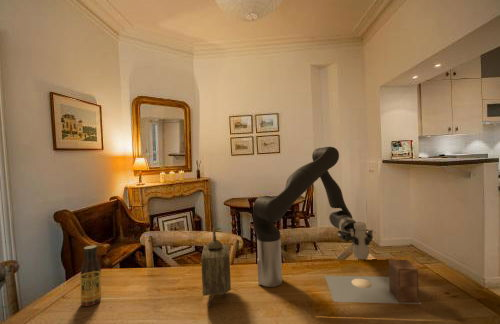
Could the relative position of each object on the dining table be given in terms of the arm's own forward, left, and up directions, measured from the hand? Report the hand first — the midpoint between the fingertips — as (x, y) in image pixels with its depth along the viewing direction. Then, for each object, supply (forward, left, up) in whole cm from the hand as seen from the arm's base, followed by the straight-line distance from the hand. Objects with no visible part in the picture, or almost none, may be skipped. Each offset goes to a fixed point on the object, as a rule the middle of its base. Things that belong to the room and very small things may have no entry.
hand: (362, 242), depth 92 cm
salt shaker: (0, +3, -7) cm, 7 cm away
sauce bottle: (-97, -13, -17) cm, 99 cm away
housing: (+11, -6, -16) cm, 21 cm away
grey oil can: (-52, -8, -17) cm, 55 cm away
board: (+1, -1, -17) cm, 17 cm away
